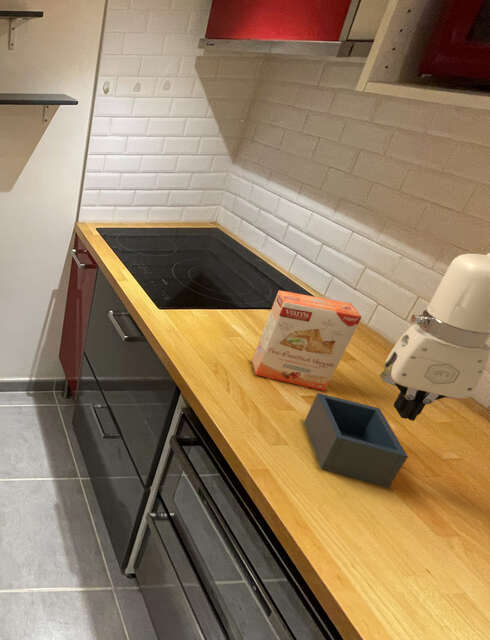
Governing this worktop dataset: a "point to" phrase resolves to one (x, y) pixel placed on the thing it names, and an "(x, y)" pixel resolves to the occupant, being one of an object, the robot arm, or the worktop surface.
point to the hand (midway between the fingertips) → (403, 413)
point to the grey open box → (354, 440)
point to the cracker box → (304, 339)
